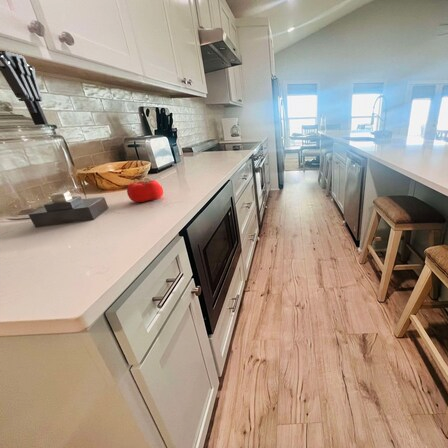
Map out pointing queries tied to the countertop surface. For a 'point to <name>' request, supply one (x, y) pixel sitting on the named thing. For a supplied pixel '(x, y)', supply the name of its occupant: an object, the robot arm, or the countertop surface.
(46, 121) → the robot arm
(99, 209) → the dark grey stepped block
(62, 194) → the grey brown cube
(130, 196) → the tomato
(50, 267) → the countertop surface
